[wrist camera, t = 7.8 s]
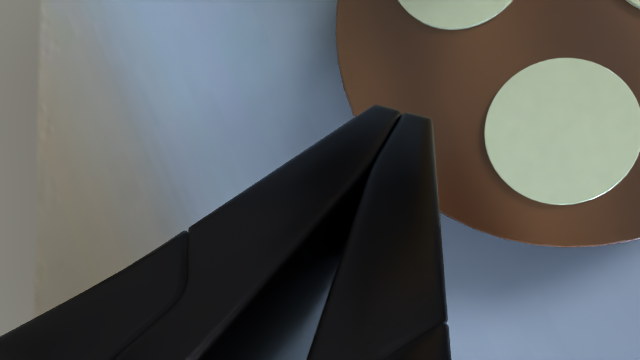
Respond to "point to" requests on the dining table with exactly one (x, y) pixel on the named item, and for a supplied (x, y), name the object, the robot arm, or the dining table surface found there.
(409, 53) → the joystick with buttons
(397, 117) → the robot arm
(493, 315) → the dining table surface
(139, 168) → the dining table surface
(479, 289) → the dining table surface
